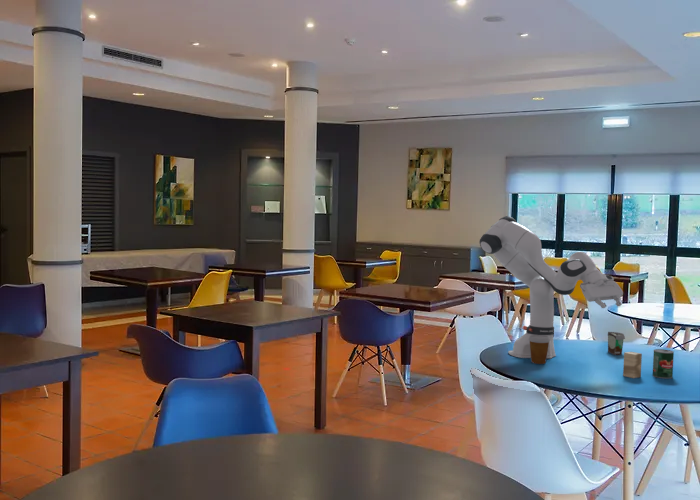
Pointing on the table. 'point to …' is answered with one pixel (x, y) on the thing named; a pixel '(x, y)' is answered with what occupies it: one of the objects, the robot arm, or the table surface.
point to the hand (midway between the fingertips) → (612, 306)
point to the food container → (615, 343)
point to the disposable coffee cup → (539, 348)
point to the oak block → (632, 364)
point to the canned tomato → (663, 363)
